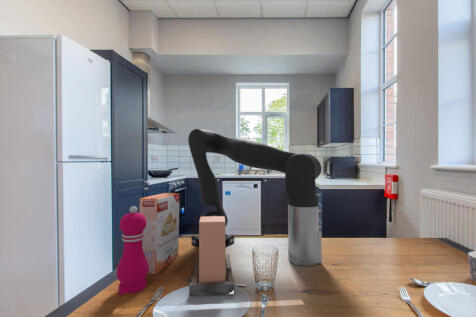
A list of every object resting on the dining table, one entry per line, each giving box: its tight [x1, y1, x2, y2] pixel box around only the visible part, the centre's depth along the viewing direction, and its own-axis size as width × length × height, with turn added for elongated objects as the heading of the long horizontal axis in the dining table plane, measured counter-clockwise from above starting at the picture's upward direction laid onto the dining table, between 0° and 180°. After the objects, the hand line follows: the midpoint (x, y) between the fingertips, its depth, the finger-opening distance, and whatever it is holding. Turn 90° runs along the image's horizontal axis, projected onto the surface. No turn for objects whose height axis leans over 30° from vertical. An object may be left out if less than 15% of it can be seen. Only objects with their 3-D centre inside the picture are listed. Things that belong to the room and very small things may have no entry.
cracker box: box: [138, 192, 180, 275], centre depth 75 cm, size 14×6×21 cm, turn 168°
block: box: [198, 216, 226, 283], centre depth 62 cm, size 6×6×16 cm
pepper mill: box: [115, 205, 149, 296], centre depth 61 cm, size 7×7×20 cm
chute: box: [188, 253, 235, 298], centre depth 68 cm, size 10×22×3 cm, turn 5°
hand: (212, 250), depth 65 cm, fingers closed
